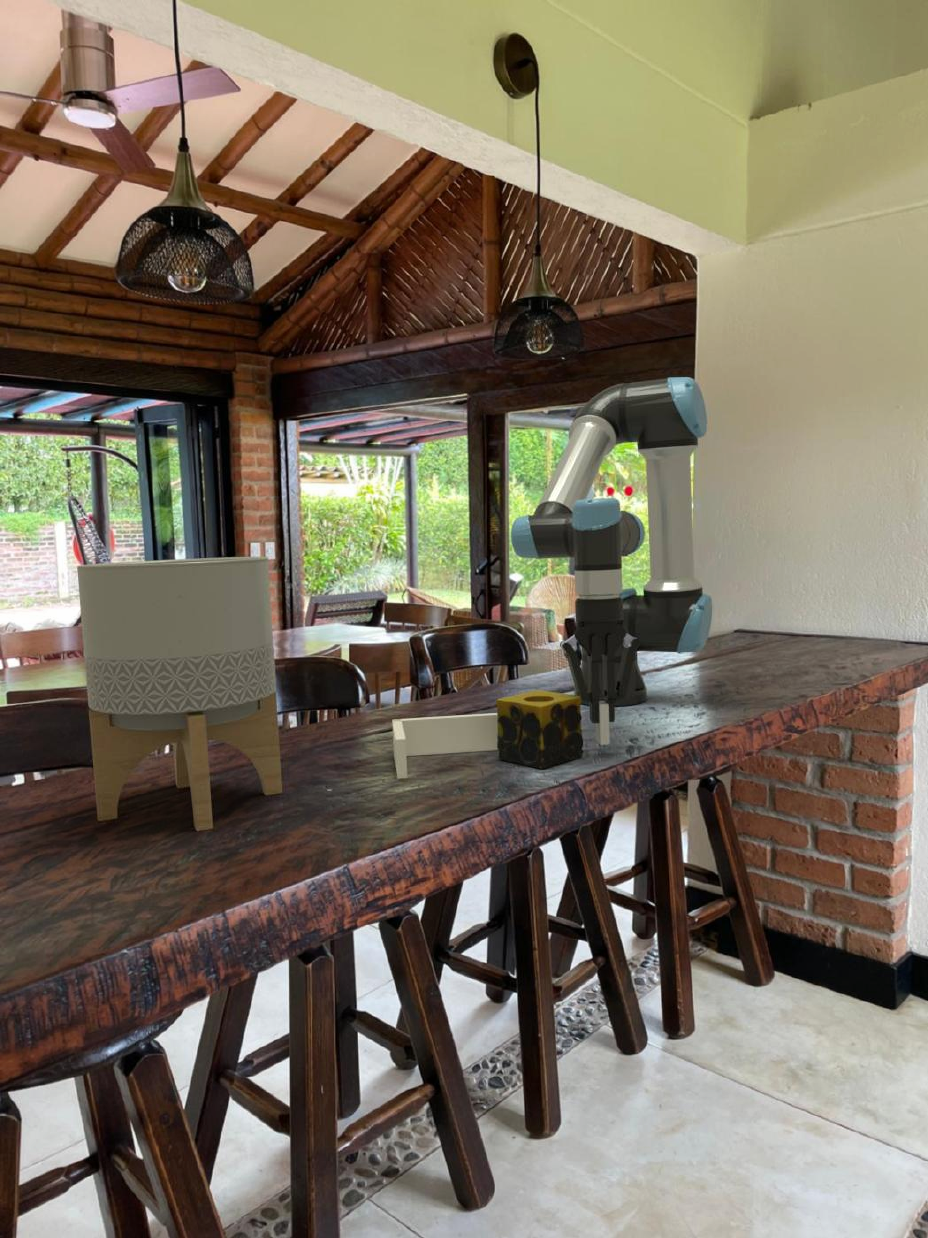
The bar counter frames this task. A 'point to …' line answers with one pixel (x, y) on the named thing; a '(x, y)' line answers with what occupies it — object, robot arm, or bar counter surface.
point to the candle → (539, 728)
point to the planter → (179, 670)
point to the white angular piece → (442, 736)
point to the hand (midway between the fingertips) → (602, 742)
